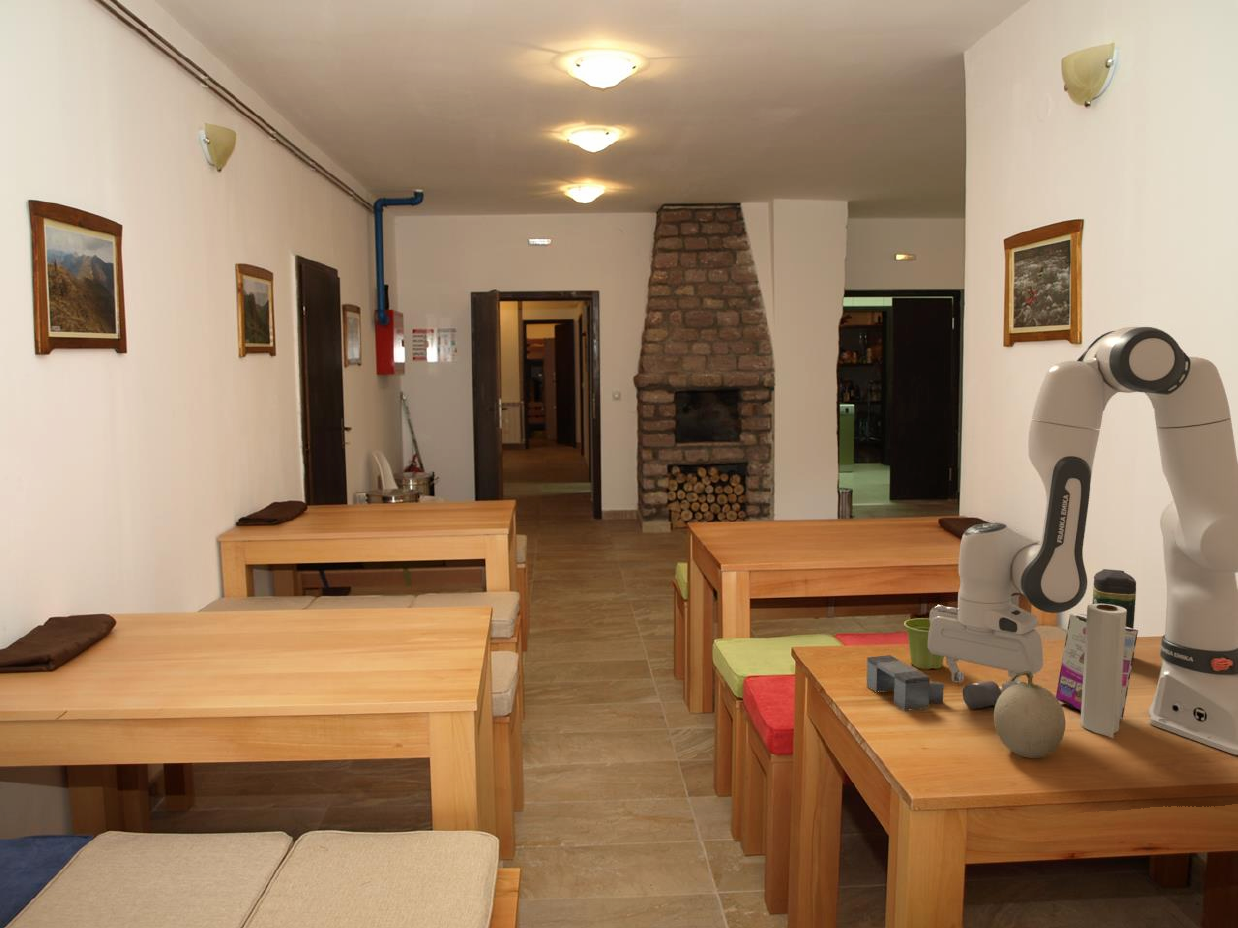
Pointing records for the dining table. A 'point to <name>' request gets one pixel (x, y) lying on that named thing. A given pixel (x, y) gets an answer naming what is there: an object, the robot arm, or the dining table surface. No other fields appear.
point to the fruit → (1029, 719)
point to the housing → (902, 682)
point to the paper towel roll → (1103, 668)
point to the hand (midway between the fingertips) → (982, 687)
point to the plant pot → (921, 644)
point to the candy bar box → (1074, 663)
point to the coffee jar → (1116, 591)
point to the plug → (982, 694)
